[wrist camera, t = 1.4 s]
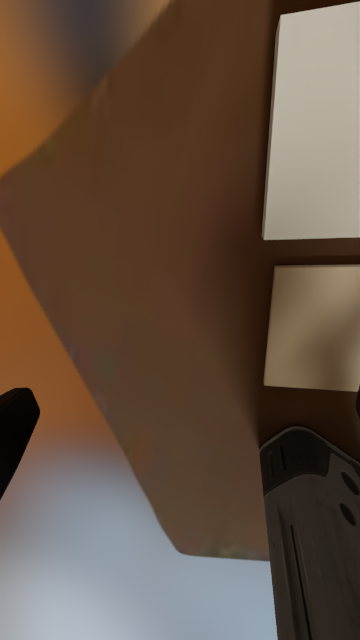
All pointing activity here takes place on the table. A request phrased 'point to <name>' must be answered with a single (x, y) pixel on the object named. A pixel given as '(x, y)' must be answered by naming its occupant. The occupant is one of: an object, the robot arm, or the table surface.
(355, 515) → the electronic device
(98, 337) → the table surface
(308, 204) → the white slotted plate
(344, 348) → the pad
